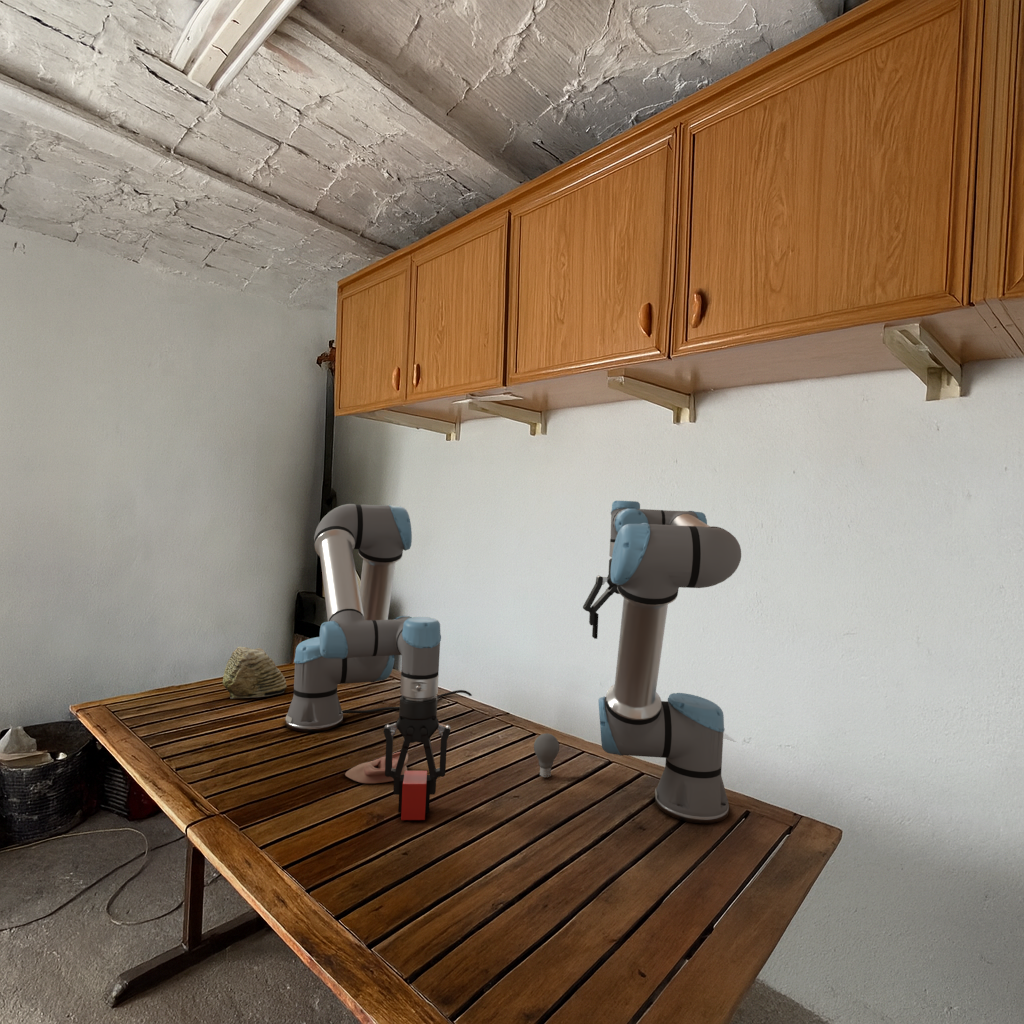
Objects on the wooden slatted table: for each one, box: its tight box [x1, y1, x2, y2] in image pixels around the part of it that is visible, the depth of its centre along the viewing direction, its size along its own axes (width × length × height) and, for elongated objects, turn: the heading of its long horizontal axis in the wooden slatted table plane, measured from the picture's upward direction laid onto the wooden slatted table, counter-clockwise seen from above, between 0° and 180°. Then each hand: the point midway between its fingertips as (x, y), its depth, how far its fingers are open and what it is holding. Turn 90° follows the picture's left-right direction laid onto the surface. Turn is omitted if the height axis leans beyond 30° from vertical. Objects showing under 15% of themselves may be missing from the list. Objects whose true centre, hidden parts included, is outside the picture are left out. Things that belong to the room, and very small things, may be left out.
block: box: [400, 770, 428, 821], centre depth 128 cm, size 5×6×7 cm
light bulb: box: [533, 732, 560, 778], centre depth 148 cm, size 6×6×10 cm
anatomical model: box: [344, 751, 409, 784], centre depth 146 cm, size 13×4×12 cm
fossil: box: [222, 646, 288, 699], centre depth 198 cm, size 9×18×15 cm, turn 132°
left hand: (413, 809), depth 128 cm, fingers closed on block, 5 cm apart
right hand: (619, 638), depth 169 cm, fingers open, 13 cm apart
